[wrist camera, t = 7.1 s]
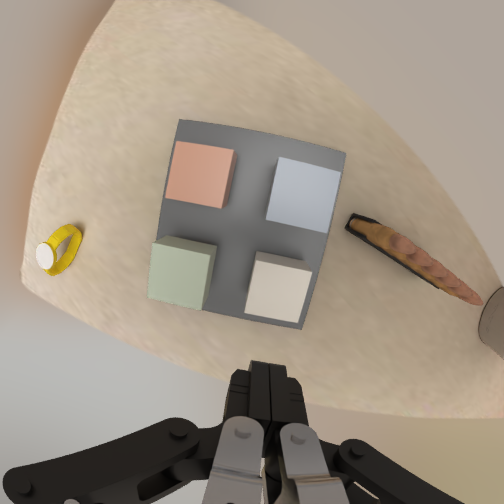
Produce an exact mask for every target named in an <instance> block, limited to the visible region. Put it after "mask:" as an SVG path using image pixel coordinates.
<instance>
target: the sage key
mask: <svg viewBox="0 0 504 504" xmlns="http://www.w3.org/2000/svg"><path fill="white" fill-rule="evenodd" d="M216 250H217V246H215V245H210V244H205V243H201V242H196V241H191V240H187V239H182V238H177V237H172V236H168V235H166V236H164V237H162V238H161V239H159V240H157V241H155V242H153V244H152V252H151V260H150V269H149V279H148V290H147V298H151V299H155V300H158V301H162V302H166V303H170V304H174V305H178V306H182V307H186V308H190V309H195V310H199V311H201V310H202V308H203V306H204V304H205V301H206V299H207V297H208V295H209V289H210V283H211V278H212V272H213V266H214V261H215V255H216Z"/></svg>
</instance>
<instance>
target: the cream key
mask: <svg viewBox="0 0 504 504" xmlns="http://www.w3.org/2000/svg"><path fill="white" fill-rule="evenodd" d="M311 275H312V271H311V269H310V267H309V266H308V264H307V262H306V261H302V260H298V259H293V258H288V257H283V256H279V255H274V254H269V253H265V252H260V251H256V255H255V260H254V265H253V269H252V274H251V278H250V283H249V287H248V292H247V296H246V303H245V311H244V313H247V314H252V315H257V316H262V317H268V318H273V319H278V320H284V321H289V322H295V323H298V321H299V317H300V314H301V310H302V307H303V304H304V300H305V297H306V293H307V290H308V286H309V283H310V279H311Z"/></svg>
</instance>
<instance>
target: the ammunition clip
mask: <svg viewBox="0 0 504 504" xmlns="http://www.w3.org/2000/svg"><path fill="white" fill-rule="evenodd" d="M345 229H346V230H347V231H349V232H350V233H352V234H354V235H355V236H357V237H359V238H360V239H362V240H363V241H365V242H367V243H368V244H370V245H371V246H373V247H374V248H376V249H378V250H379V251H381V252H382V253H384V254H385V255H387V256H388V257H390V258H391V259H393V260H394V261H396V262H397V263H399V264H400V265H402V266H403V267H405V268H406V269H408V270H409V271H411V272H412V273H414V274H415V275H417V276H418V277H420V278H422V279H423V280H425V281H426V282H428V283H430V284H431V285H433V286H434V287H436V288H438V289H439V288H440V289H442V290H443V291H445V292H447V293H448V294H450V295H453V296H456V297H458V298H460V299H462V300H464V301H465V302H468V303H470V304H473V305H483V301H482V299H481V298H480V296H479V295H478V294H477V293H476V292H475V291H473V290H472V289H471V288H469V287H468V286H467V285H466V284H465V283H464V282H463V281H461V280H460V279H458V278H457V277H456V276H455V275H454V274H453V273H452V272H451V271H449V270H448V269H446V268H445V267H444V266H443V265H442V264H441V263H439V262H438V261H437V260H435V259H433V258H431V257H430V255H429V254H428V253H426V252H425V251H424V250H422V249H421V248H419V247H417V246H415V245H414V244H413V243H412V242H411V241H410V240H409V239H407V238H406V237H404V236H402V235H400V234H399V233H396V232H395V231H394V230H393V229H391V228H389V227H386V226H383V225H382V224H380V223H379V222H377V221H376V220H374V219H371V218H367V217H364V216H361V215H358V214H354V213H353V214H352V216H351V218H350V220H349V222H348V224H347V225H346V227H345Z"/></svg>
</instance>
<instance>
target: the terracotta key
mask: <svg viewBox="0 0 504 504" xmlns="http://www.w3.org/2000/svg"><path fill="white" fill-rule="evenodd" d="M236 159H237V154H236V152H235V151H234V150H232V149H226V148H220V147H214V146H208V145H202V144H195V143H188V142H181V141H176V145H175V150H174V154H173V159H172V164H171V169H170V174H169V179H168V185H167V190H166V196H165V198H169V199H174V200H180V201H185V202H190V203H196V204H201V205H206V206H211V207H216V208H221V209H222V208H224V207H226V206H227V202H228V197H229V192H230V188H231V183H232V178H233V173H234V169H235V164H236Z"/></svg>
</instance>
